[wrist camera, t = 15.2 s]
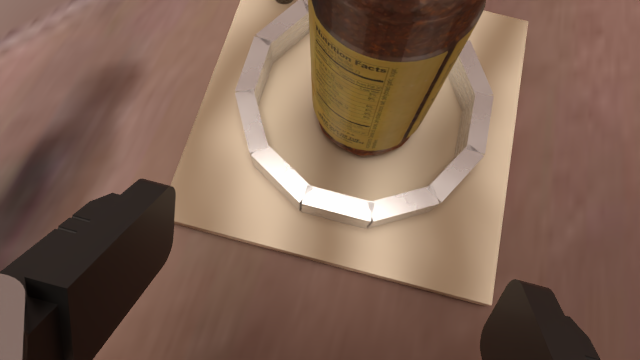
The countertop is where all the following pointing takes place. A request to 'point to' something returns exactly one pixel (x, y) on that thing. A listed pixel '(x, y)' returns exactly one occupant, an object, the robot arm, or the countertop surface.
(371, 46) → the sauce bottle
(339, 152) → the maple board
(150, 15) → the countertop surface
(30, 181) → the countertop surface
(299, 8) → the white segmented ring
